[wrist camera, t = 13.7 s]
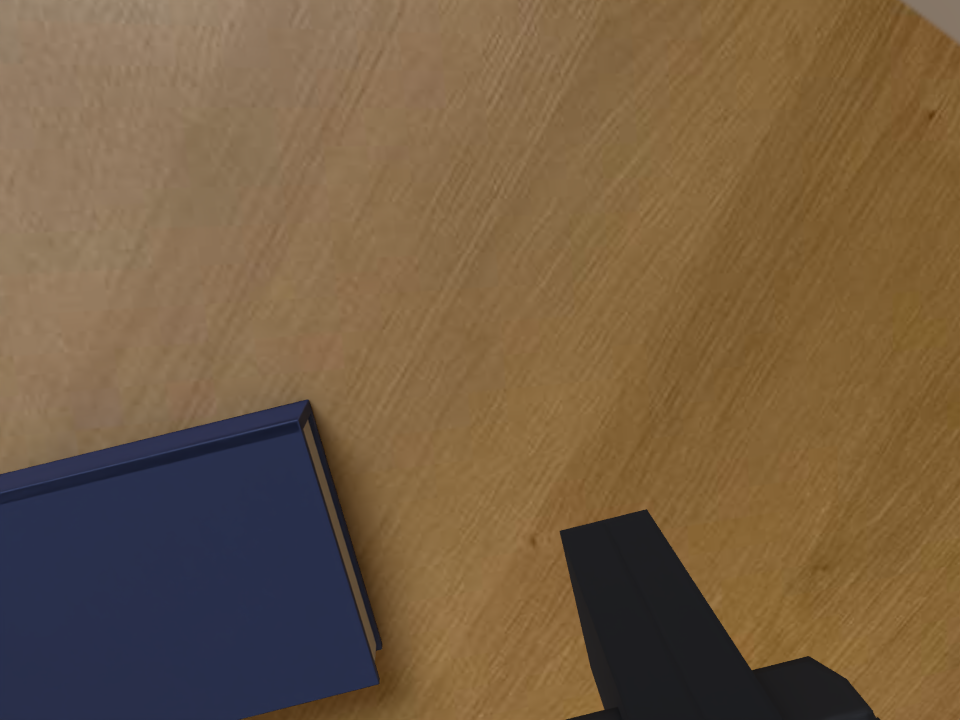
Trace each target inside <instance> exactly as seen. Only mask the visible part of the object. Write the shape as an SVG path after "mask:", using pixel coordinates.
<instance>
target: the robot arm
mask: <svg viewBox="0 0 960 720" xmlns="http://www.w3.org/2000/svg"><path fill="white" fill-rule="evenodd" d="M560 535H561V539H562V544H563V548H564V552H565V557H566V561H567V565H568V570H569V574H570V579H571V583H572V587H573V592H574V596H575V601H576V605H577V609H578V614H579V618H580V622H581V627H582V631H583V636H584V640H585V644H586V649H587V653H588V658H589V662H590V666H591V670H592V673H593V676H594V679H595V682H596V685H597V688H598V691H599V694H600V697H601V700H602V703H603V706H604V709H605V710H602V711H598V712H594V713H590V714H586V715H582V716H578V717H574V718H570V719H566V720H880V719H879V718H876V717H875V715H874V713H873V710H872V709H871V708H870V707H869V706H868V704H867V703H866V702H865V701H864V699H863V698H862V697H861V696H860V695H859V693H858V692H857V691H856V690H855V689H854V687H853V686H852V685H851V684H850V683H849V681H848V680H847V679H846V678H844V677H842V676H841V675H839V674H838V673H836V672H834V671H833V670H831V669H829V668H828V667H826V666H824V665H823V664H821V663H819V662H818V661H816V660H814V659H813V658H811V657H809V656H807V657H803V658H799V659H795V660H791V661H787V662H783V663H779V664H775V665H771V666H767V667H763V668H759V669H755V670H751V669H750V667H749V666H748V664H747V663H746V661H745V660H744V658H743V657H742V655H741V653H740V652H739V650H738V649H737V647H736V646H735V644H734V643H733V641H732V640H731V638H730V637H729V635H728V633H727V632H726V630H725V629H724V627H723V626H722V624H721V623H720V621H719V620H718V618H717V617H716V615H715V613H714V612H713V610H712V609H711V607H710V606H709V604H708V603H707V601H706V600H705V598H704V597H703V595H702V593H701V592H700V590H699V589H698V587H697V586H696V584H695V583H694V581H693V580H692V578H691V577H690V575H689V573H688V572H687V570H686V569H685V567H684V566H683V564H682V563H681V561H680V560H679V558H678V557H677V555H676V553H675V552H674V550H673V549H672V547H671V546H670V544H669V543H668V541H667V540H666V538H665V537H664V535H663V534H662V532H661V530H660V529H659V527H658V526H657V524H656V523H655V521H654V520H653V518H652V517H651V515H650V514H649V512H648V510H647V509H646V510H642V511H638V512H634V513H630V514H626V515H622V516H618V517H614V518H610V519H606V520H602V521H598V522H594V523H590V524H586V525H582V526H578V527H573V528H569V529H565V530H561V531H560Z"/></svg>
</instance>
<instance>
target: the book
mask: <svg viewBox="0 0 960 720" xmlns="http://www.w3.org/2000/svg"><path fill="white" fill-rule="evenodd" d="M381 649H382V641H381V638H380V635H379V631H378V628H377V625H376V621H375V618H374V615H373V611H372V608H371V605H370V601H369V598H368V595H367V591H366V588H365V585H364V581H363V578H362V575H361V571H360V568H359V565H358V562H357V558H356V555H355V552H354V548H353V545H352V542H351V538H350V535H349V532H348V528H347V525H346V522H345V518H344V515H343V512H342V508H341V505H340V502H339V498H338V495H337V492H336V489H335V485H334V482H333V479H332V475H331V472H330V469H329V465H328V462H327V459H326V455H325V452H324V449H323V445H322V442H321V439H320V435H319V432H318V429H317V425H316V422H315V419H314V416H313V412H312V409H311V406H310V402H309V400H303V401H299V402H295V403H291V404H287V405H283V406H279V407H275V408H271V409H267V410H262V411H258V412H254V413H250V414H246V415H242V416H238V417H234V418H230V419H226V420H222V421H217V422H213V423H209V424H205V425H201V426H197V427H193V428H189V429H185V430H181V431H176V432H172V433H168V434H164V435H160V436H156V437H152V438H148V439H144V440H140V441H135V442H131V443H127V444H123V445H119V446H115V447H111V448H107V449H103V450H99V451H94V452H90V453H86V454H82V455H78V456H74V457H70V458H66V459H62V460H58V461H53V462H49V463H45V464H41V465H37V466H33V467H29V468H25V469H21V470H17V471H13V472H8V473H4V474H0V720H240V719H243V718H247V717H251V716H255V715H259V714H263V713H267V712H271V711H275V710H279V709H283V708H287V707H291V706H295V705H299V704H303V703H307V702H311V701H314V700H318V699H322V698H326V697H330V696H334V695H338V694H342V693H346V692H350V691H354V690H358V689H362V688H366V687H370V686H374V685H378V684H379V681H380V678H379V675H378V671H377V668H376V665H375V654H376V651H377V650H381Z"/></svg>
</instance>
